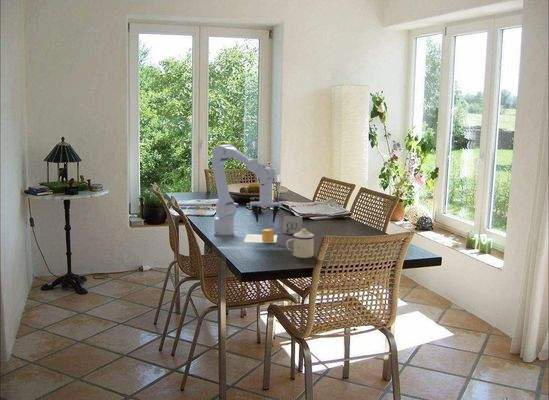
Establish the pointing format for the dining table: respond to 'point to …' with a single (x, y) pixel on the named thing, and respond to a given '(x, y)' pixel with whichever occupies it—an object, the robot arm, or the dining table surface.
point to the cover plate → (257, 238)
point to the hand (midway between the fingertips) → (265, 221)
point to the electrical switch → (292, 224)
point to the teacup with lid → (302, 244)
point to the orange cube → (267, 235)
